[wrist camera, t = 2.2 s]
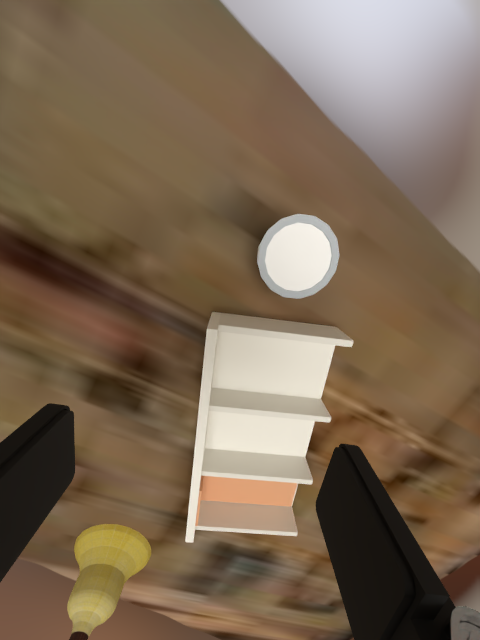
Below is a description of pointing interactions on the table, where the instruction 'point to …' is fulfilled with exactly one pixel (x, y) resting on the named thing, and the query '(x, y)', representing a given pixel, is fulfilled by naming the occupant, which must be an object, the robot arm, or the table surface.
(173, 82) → the table surface
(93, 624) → the handbell
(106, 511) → the table surface
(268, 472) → the rack
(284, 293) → the white and grey cylinder
